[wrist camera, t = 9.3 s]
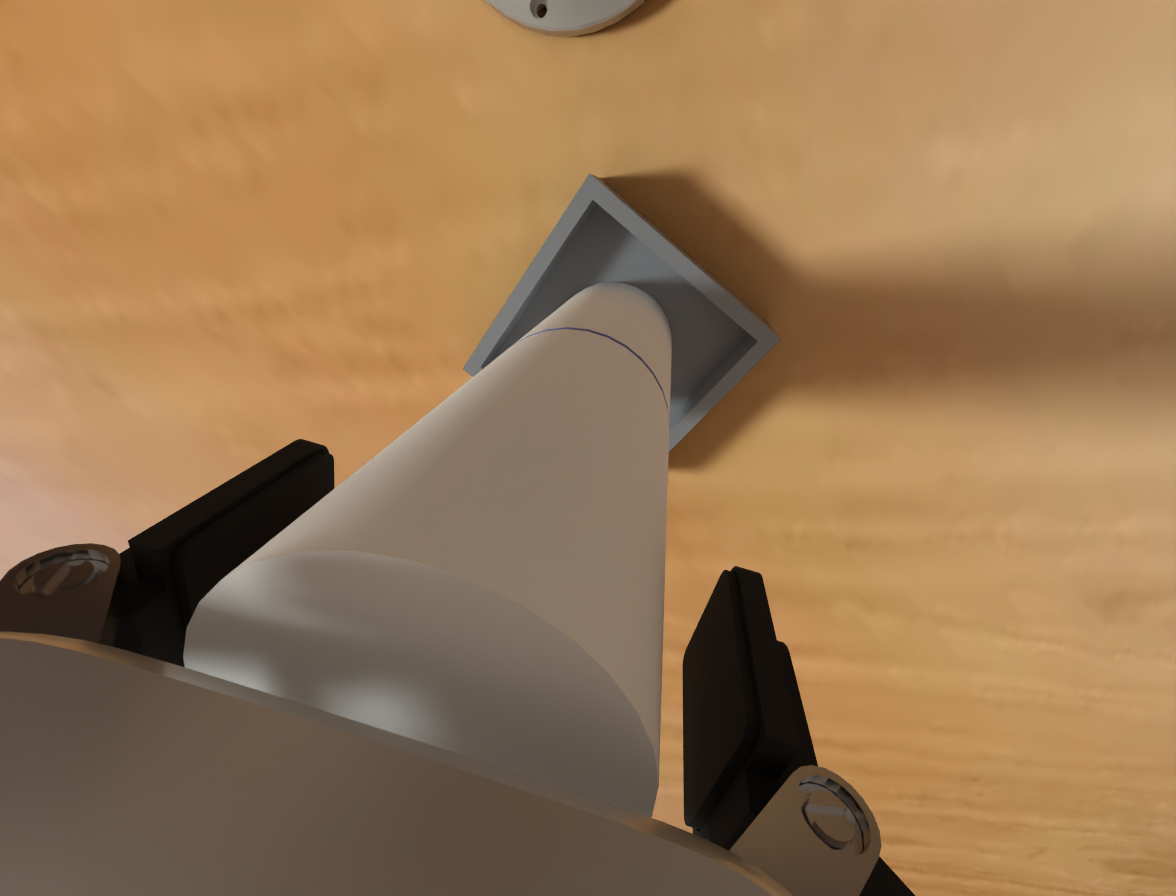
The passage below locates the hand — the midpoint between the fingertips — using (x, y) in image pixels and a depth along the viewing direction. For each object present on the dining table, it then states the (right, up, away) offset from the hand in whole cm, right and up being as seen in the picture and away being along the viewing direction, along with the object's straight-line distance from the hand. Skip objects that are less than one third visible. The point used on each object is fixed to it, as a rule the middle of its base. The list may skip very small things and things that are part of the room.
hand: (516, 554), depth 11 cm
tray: (+4, +9, +19) cm, 21 cm away
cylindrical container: (+3, +9, +18) cm, 21 cm away
